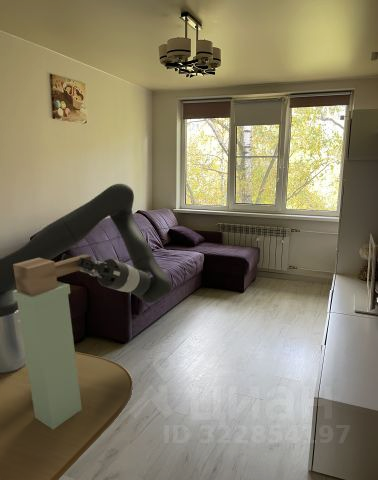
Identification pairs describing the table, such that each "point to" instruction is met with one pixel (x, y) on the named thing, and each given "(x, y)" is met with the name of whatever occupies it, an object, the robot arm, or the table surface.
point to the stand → (50, 354)
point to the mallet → (43, 273)
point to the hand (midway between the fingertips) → (71, 259)
